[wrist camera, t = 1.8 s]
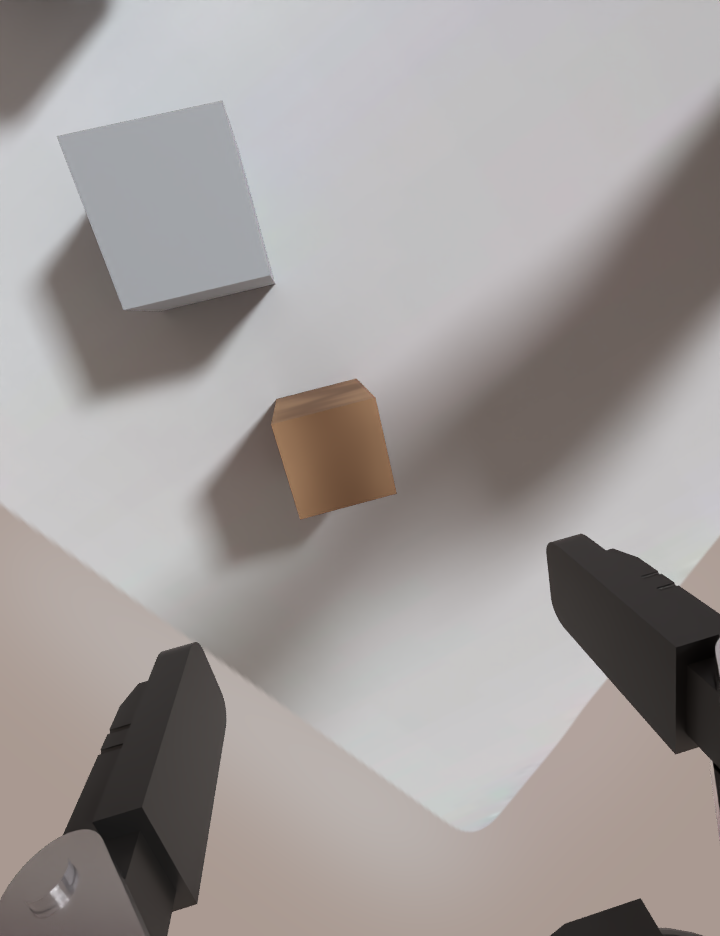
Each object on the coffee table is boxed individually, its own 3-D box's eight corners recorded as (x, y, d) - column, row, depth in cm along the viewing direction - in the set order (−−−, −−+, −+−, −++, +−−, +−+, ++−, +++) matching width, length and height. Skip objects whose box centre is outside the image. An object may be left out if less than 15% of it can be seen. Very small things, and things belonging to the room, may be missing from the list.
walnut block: (356, 378, 28) (375, 397, 21) (373, 454, 30) (396, 493, 23) (276, 398, 28) (270, 424, 21) (298, 474, 29) (299, 519, 23)
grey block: (239, 151, 24) (222, 100, 18) (275, 283, 26) (270, 275, 20) (113, 179, 23) (56, 135, 18) (160, 311, 26) (123, 310, 20)
